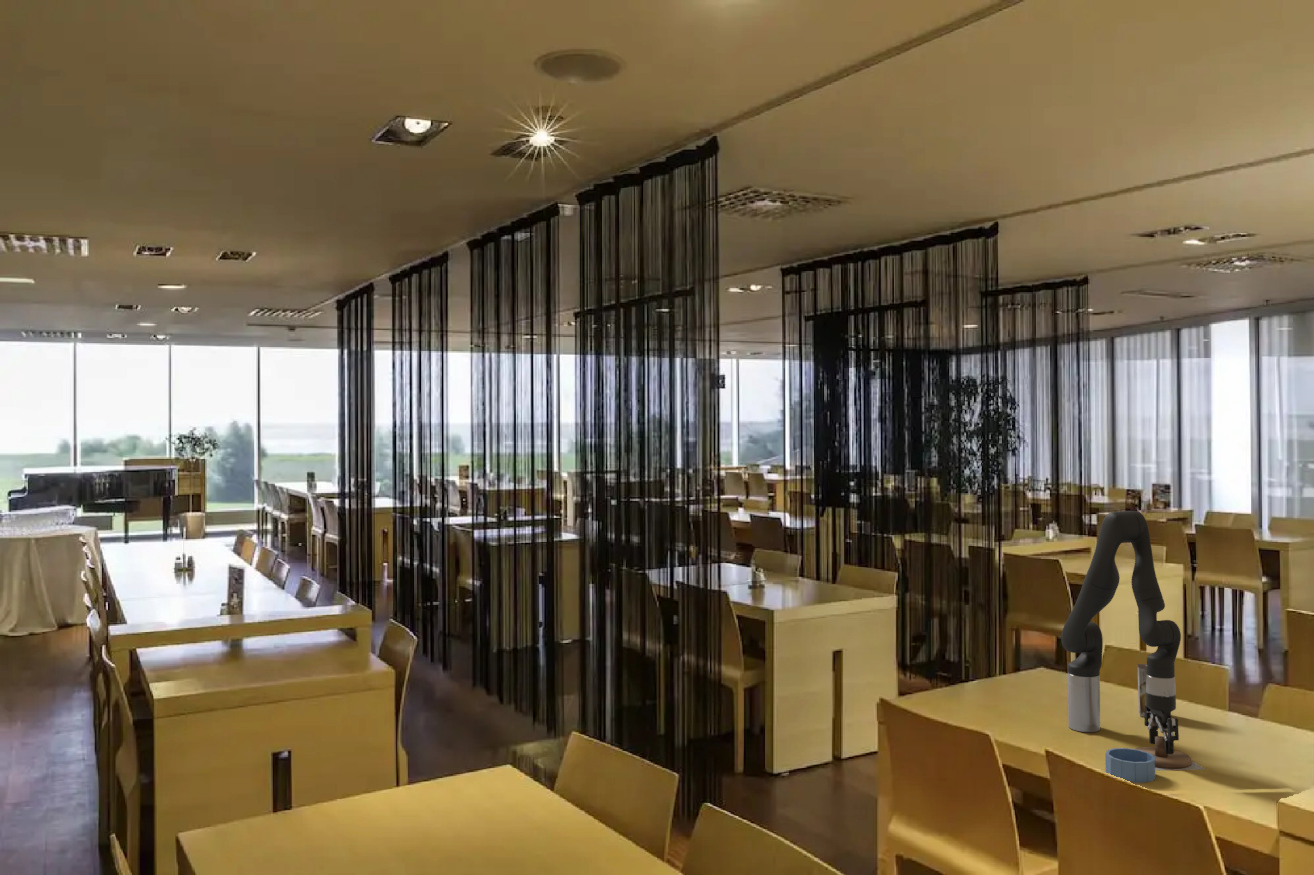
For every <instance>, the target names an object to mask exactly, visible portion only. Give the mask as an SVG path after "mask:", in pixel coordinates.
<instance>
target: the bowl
mask: <svg viewBox="0 0 1314 875" xmlns="http://www.w3.org/2000/svg"><path fill="white" fill-rule="evenodd" d="M1156 771H1157V770H1156V766H1155V756H1153V755H1152V754H1150V753H1148V752H1145V751H1141V750H1137V749H1136V748H1129V747H1113V748H1110V749H1106V751H1105V773H1106V774H1107V773H1110V774H1111V775H1114V776H1116V777H1120V778H1123V779H1125V780H1127V781H1132V782H1131V783H1134V784H1135V783H1137V784H1141V783H1151V782H1153V781H1154V780H1156V777H1157V775H1156V773H1157V772H1156ZM1127 781H1126V782H1127Z"/></svg>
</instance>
